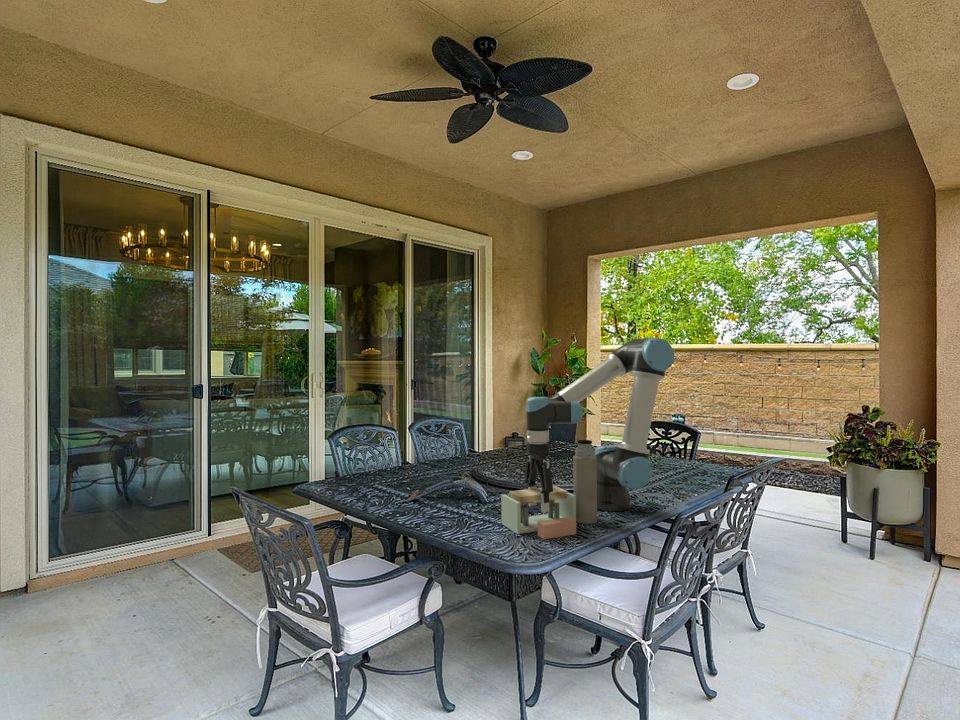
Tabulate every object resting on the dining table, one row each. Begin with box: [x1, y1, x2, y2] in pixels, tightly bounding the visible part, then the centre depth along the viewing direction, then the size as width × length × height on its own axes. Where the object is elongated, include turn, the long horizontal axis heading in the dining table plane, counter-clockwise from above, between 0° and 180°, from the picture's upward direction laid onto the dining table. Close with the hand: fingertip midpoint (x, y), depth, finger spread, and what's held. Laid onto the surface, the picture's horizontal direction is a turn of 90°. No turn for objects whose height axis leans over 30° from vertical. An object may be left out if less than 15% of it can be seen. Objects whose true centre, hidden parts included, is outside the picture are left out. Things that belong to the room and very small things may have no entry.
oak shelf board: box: [509, 485, 568, 505], centre depth 186 cm, size 18×8×2 cm, turn 113°
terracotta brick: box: [537, 517, 577, 540], centre depth 175 cm, size 12×4×4 cm, turn 113°
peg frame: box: [500, 491, 576, 535], centre depth 186 cm, size 22×12×10 cm, turn 113°
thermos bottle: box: [572, 439, 598, 525], centre depth 190 cm, size 8×8×28 cm
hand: (538, 508), depth 186 cm, fingers closed on oak shelf board, 8 cm apart
